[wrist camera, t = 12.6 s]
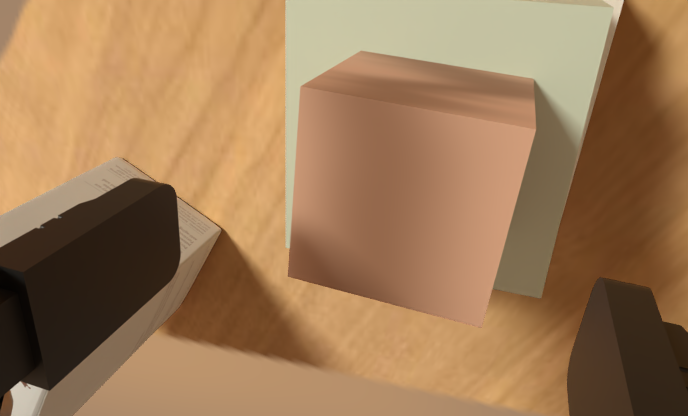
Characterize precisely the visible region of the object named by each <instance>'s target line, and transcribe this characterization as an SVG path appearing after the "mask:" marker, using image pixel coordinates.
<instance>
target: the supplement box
mask: <svg viewBox="0 0 688 416" xmlns="http://www.w3.org/2000/svg"><path fill="white" fill-rule="evenodd" d="M132 178H140V179H145V180H150V181H154V180H153V179H151V178H150V177H148V176H147V175H145V174H144V173H143V172H141V171H140V170H138V169H137V168H136V167H134V166H133V165H131V164H130V163H128V162H127V161H125V160H124V159H122V158H120V157H115V158H113V159H111V160H109V161H107V162H105V163H103V164H101V165H99V166H97V167H95V168H93V169H91V170H89V171H87V172H85V173H83V174H81V175H79V176H77V177H75V178H73V179H71V180H69V181H67V182H66V183H64V184H62V185H60V186H58V187H56V188H54V189H52V190H50V191H48V192H46V193H44V194H42V195H40V196H38V197H36V198H34V199H32V200H30V201H28V202H26V203H24V204H22V205H20V206H18V207H16V208H14V209H13V210H11V211H9V212H7V213H5V214H3V215H1V216H0V247H2V246H3V245H5V244H7V243H9V242H11V241H12V240H14V239H16V238H18V237H20V236H22V235H23V234H25V233H27V232H29V231H31V230H32V229H34V228H40V225H41V224H43V223H45V222H47V221H49V220H50V219H52V218H58V215H60V214H61V213H63V212H65V211H67V210H69V209H70V208H72V207H74V206H76V205H78V204H80V203H83V202H86V201H89V200H93V199H96V198H97V197H99V196H101V195H103V194H104V193H106V192H108V191H110V190H112V189H113V188H115V187H117V186H119V185H120V184H122V183H124V182H126V181H128V180H129V179H132ZM154 182H155V181H154ZM177 206H178V220H179V234H180V249H181V257H180V263H179V266H178V269H177V272H176V274H175V275H174V277H173V279H172V280H171V281H170V282H169V283H168V284H167V285H166V286H165V287H164V288H163V289H162V290H160V291H159V292H158V293H157V294H156V295H155V296H154V297H153V298H152V299H151V300H149V301H148V302H147V303H146V304H145V305H144V306H143V307H142V308H141V309H140V310H138V311H137V312H136V313H135V314H134V315H133V316H132V317H131V318H130V319H129V320H127V321H126V322H125V323H124V324H123V325H122V326H121V327H120V328H119V329H117V330H116V331H115V332H114V333H113V334H112V335H111V336H110V337H109V338H108V339H106V340H105V341H104V342H103V343H102V344H101V345H100V346H99V347H98V348H97V349H95V350H94V351H93V352H92V353H91V354H90V355H89V356H88V357H87V358H86V359H84V360H83V361H82V362H81V363H80V364H79V365H78V366H77V367H76V368H75V369H73V370H72V371H71V372H70V373H69V374H68V375H67V376H66V377H65V378H64V379H62V380H61V381H60V382H59V383H58V384H57V385H56V386H55V387H54V388H53V389H51V390H50V391H48V390H45V389H42V388H39V387H36V386H33V385H30V384H27V383H24V382H21V381H20V382H19V383H18V384H16V385H15V386H14V387H13V388H12V389H10V390H11V393H12V397H13V409H12V413H11V416H73V415H74V414H75V413H76V412H77V411H78V410H79V409H80V408H81V407H82V406H83V405H84V403H86V402H87V400H88V399H89V398H90V397H91V396H92V395H93V394H94V393H95V392H96V391H97V390H98V389H99V388H100V387H101V386H102V385H103V384H104V383H105V382H106V381H107V380H108V379H109V378H110V377H111V376H112V375H113V374H114V373H115V372H116V371H117V370H118V369H119V368H120V367H121V366H122V365H123V364H124V363H125V362H126V361H127V360H128V359H129V358H130V357H131V356H132V354H133V353H134V352H135V351H136V350H137V349H138V348H139V347H140V346H141V345H142V344H143V343H144V342H145V341H146V340H147V339H148V338H149V337H150V336H151V335H152V334H153V333H154V332H155V331H156V330H157V329H158V328H159V327H160V326H161V325H162V324H163V323H164V322H165V321H166V320H167V319H168V318H169V317H170V316H171V315H172V314H173V313H174V312H175V311H176V310H177V309H178V308H179V307H180V305H181V304H182V302H183V300H184V299H185V297H186V295H187V293H188V292H189V290H190V288H191V286H192V284H193V283H194V281H195V279H196V277H197V275H198V273H199V272H200V270H201V268H202V266H203V264H204V262H205V260H206V259H207V257H208V255H209V253H210V251H211V249H212V248H213V246H214V244H215V242H216V240H217V238H218V236H219V235H220V233H221V228H220V227H218V226H217V225H216V224H214V223H213V222H211V221H210V220H209V219H207V218H206V217H205V216H203V215H202V214H200V213H199V212H198V211H196V210H195V209H193V208H192V207H190V206H189V205H188V204H186V203H185V202H184V201H182V200H181V199H179V198H178V197H177Z"/></svg>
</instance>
